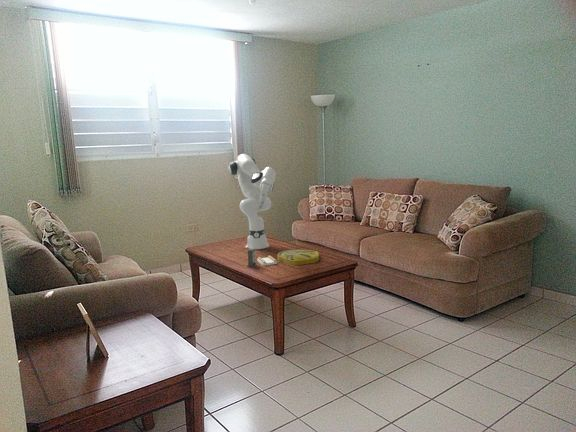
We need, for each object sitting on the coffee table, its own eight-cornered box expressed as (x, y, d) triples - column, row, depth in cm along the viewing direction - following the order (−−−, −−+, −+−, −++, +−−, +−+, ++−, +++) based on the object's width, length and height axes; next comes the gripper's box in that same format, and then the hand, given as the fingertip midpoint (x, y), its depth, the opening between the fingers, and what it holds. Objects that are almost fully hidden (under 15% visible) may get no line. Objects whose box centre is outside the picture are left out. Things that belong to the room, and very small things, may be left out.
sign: (293, 247, 328) (327, 252, 310) (293, 251, 328) (327, 257, 310) (269, 256, 306) (304, 262, 288) (269, 260, 306) (304, 267, 288)
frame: (249, 264, 297) (249, 248, 295) (256, 264, 296) (255, 248, 294) (247, 267, 292) (246, 250, 290) (253, 267, 291) (253, 250, 289)
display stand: (257, 260, 305) (256, 257, 305) (270, 259, 309) (270, 255, 309) (263, 265, 294) (262, 261, 293) (277, 263, 297) (277, 259, 297)
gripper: (259, 194, 309) (254, 210, 303) (262, 179, 291) (257, 196, 285) (268, 196, 310) (263, 213, 303) (272, 181, 291) (267, 199, 285)
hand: (260, 205), depth 294 cm, fingers open, 8 cm apart
